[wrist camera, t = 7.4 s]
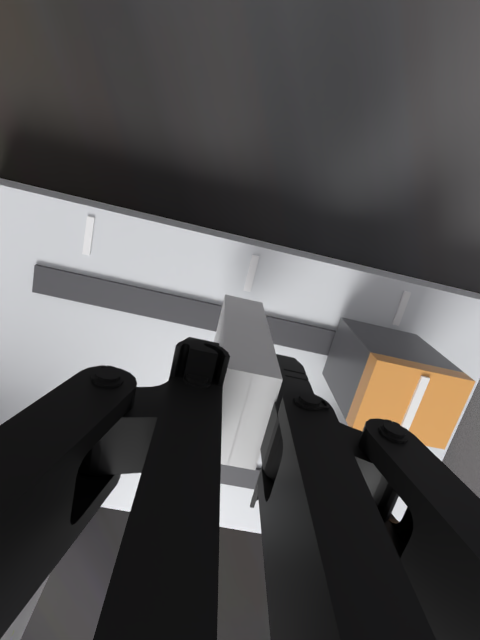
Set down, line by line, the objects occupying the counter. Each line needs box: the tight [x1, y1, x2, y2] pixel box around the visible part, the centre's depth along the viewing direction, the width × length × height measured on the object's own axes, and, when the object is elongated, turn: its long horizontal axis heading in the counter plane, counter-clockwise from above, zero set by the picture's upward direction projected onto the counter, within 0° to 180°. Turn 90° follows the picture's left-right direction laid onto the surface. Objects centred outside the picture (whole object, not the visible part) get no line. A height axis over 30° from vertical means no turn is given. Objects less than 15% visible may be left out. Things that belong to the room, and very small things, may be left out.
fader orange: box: [322, 317, 476, 450], centre depth 17 cm, size 3×4×5 cm
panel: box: [0, 178, 480, 533], centre depth 21 cm, size 15×24×3 cm, turn 76°
